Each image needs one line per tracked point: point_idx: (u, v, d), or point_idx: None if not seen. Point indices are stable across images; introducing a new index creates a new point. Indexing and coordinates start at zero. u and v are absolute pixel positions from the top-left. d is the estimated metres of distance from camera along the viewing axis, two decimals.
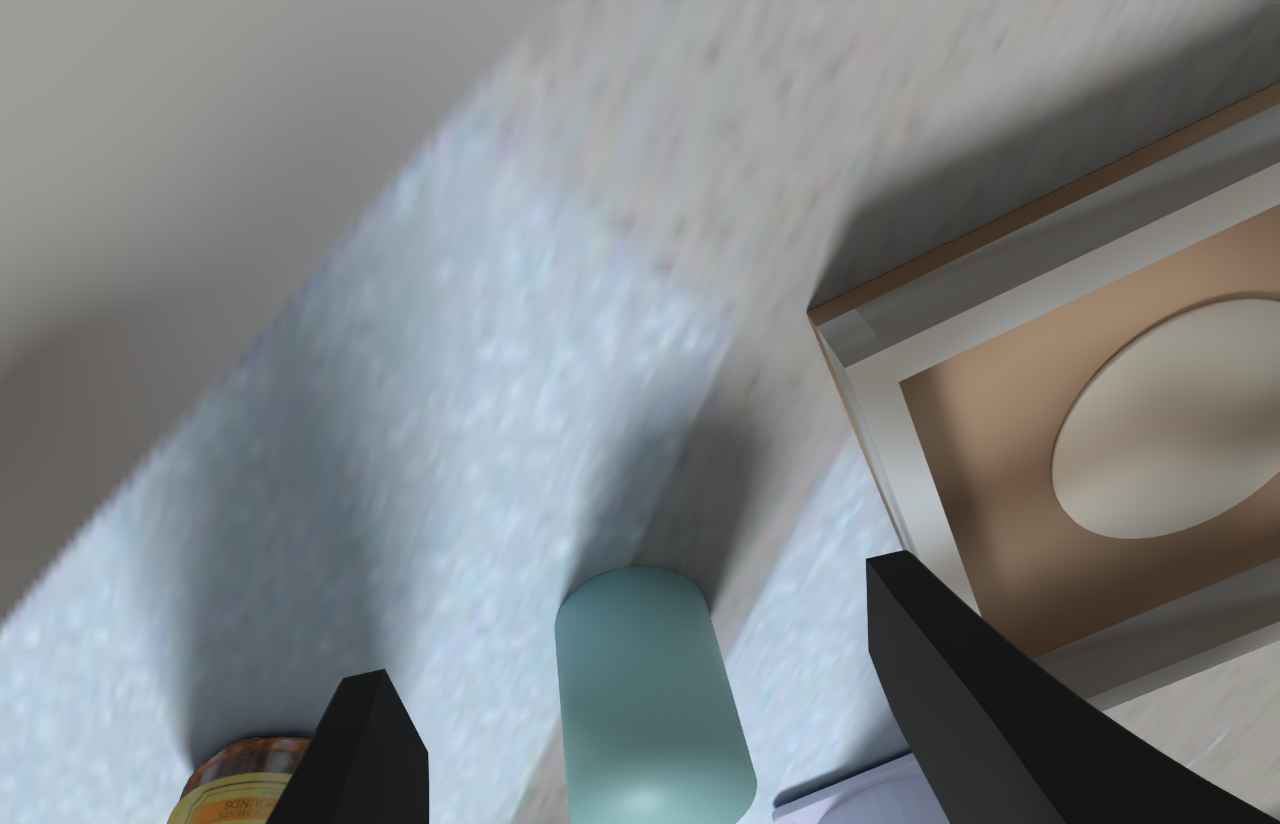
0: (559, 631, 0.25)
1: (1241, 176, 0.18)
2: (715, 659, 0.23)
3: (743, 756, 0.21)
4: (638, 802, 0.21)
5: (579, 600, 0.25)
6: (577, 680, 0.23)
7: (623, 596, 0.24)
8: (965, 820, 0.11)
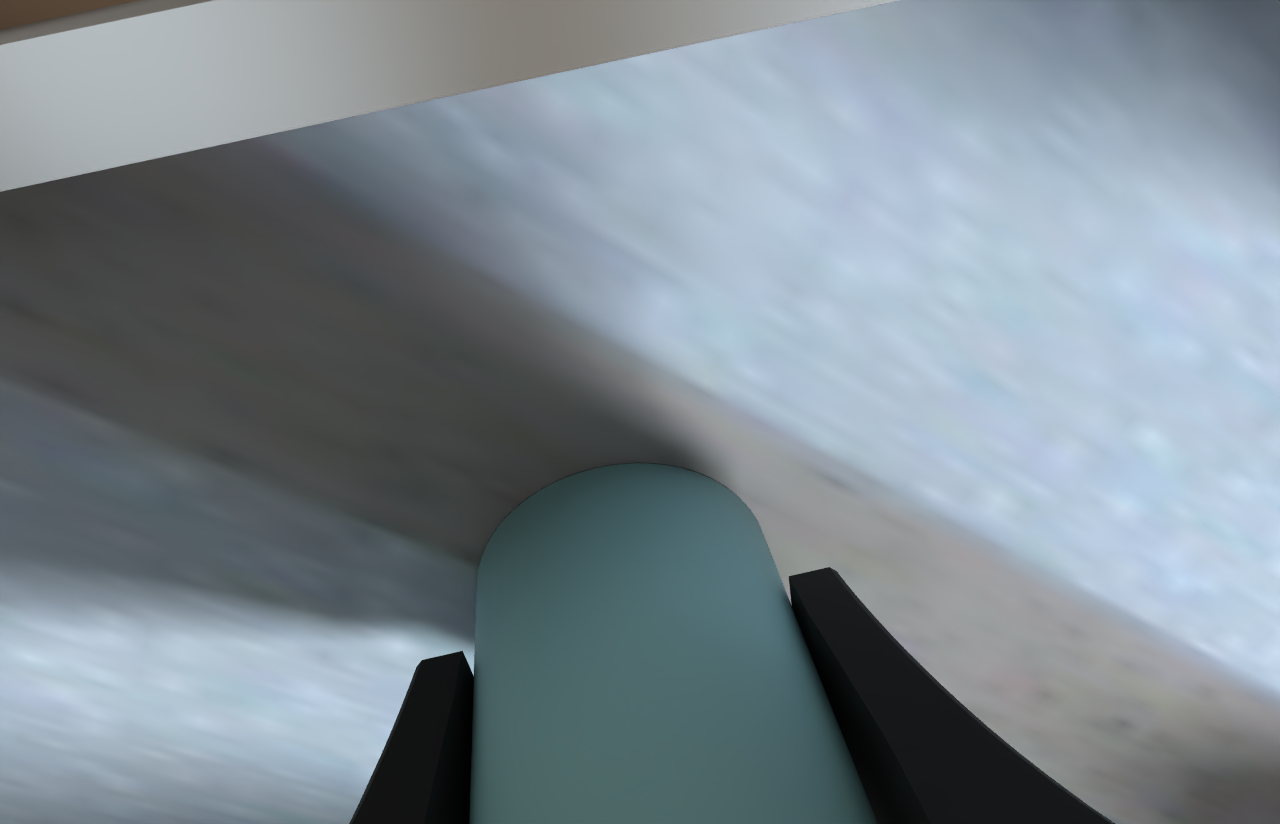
0: None
1: None
2: (583, 626, 0.10)
3: None
4: None
5: None
6: None
7: (476, 637, 0.13)
8: None
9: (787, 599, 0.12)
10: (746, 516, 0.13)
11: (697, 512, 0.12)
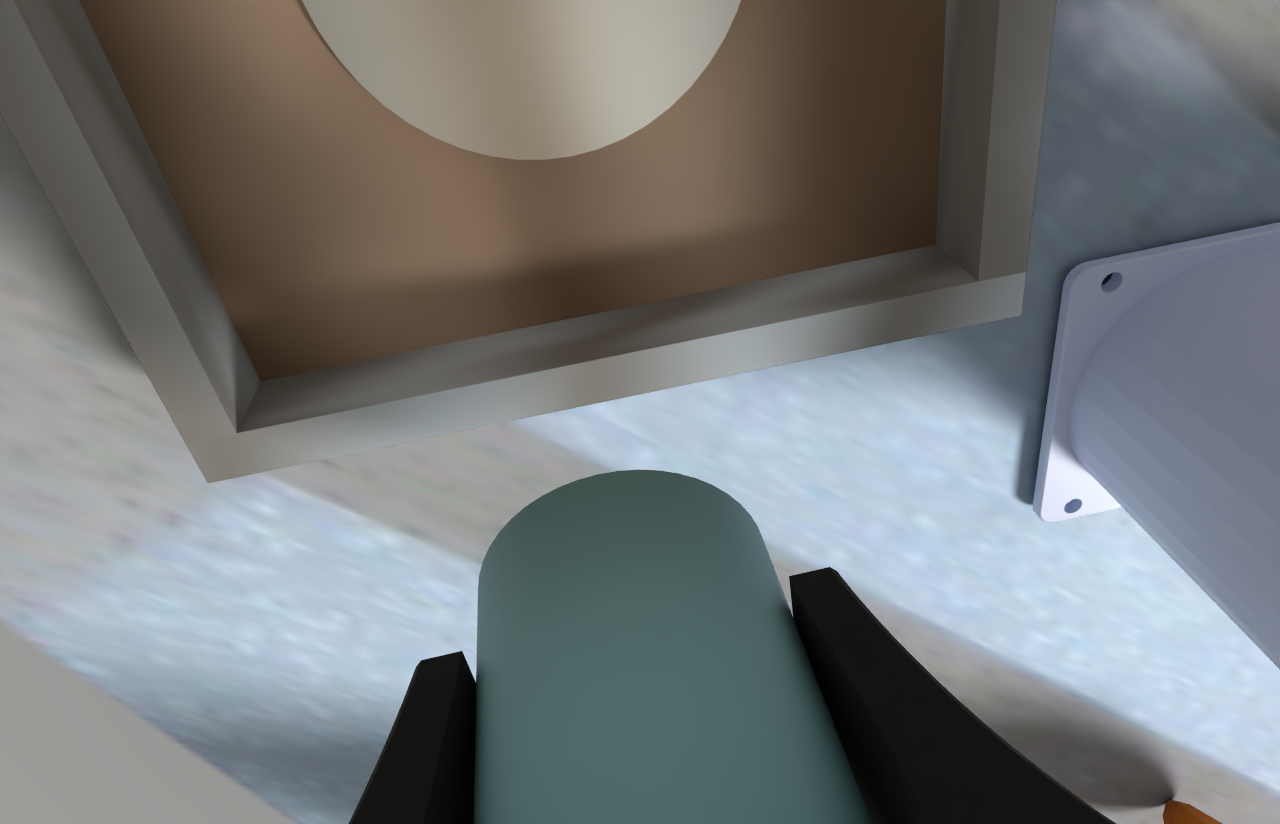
0: None
1: None
2: (586, 636, 0.10)
3: None
4: None
5: None
6: None
7: (478, 641, 0.13)
8: None
9: (786, 606, 0.12)
10: (746, 522, 0.13)
11: (698, 519, 0.12)
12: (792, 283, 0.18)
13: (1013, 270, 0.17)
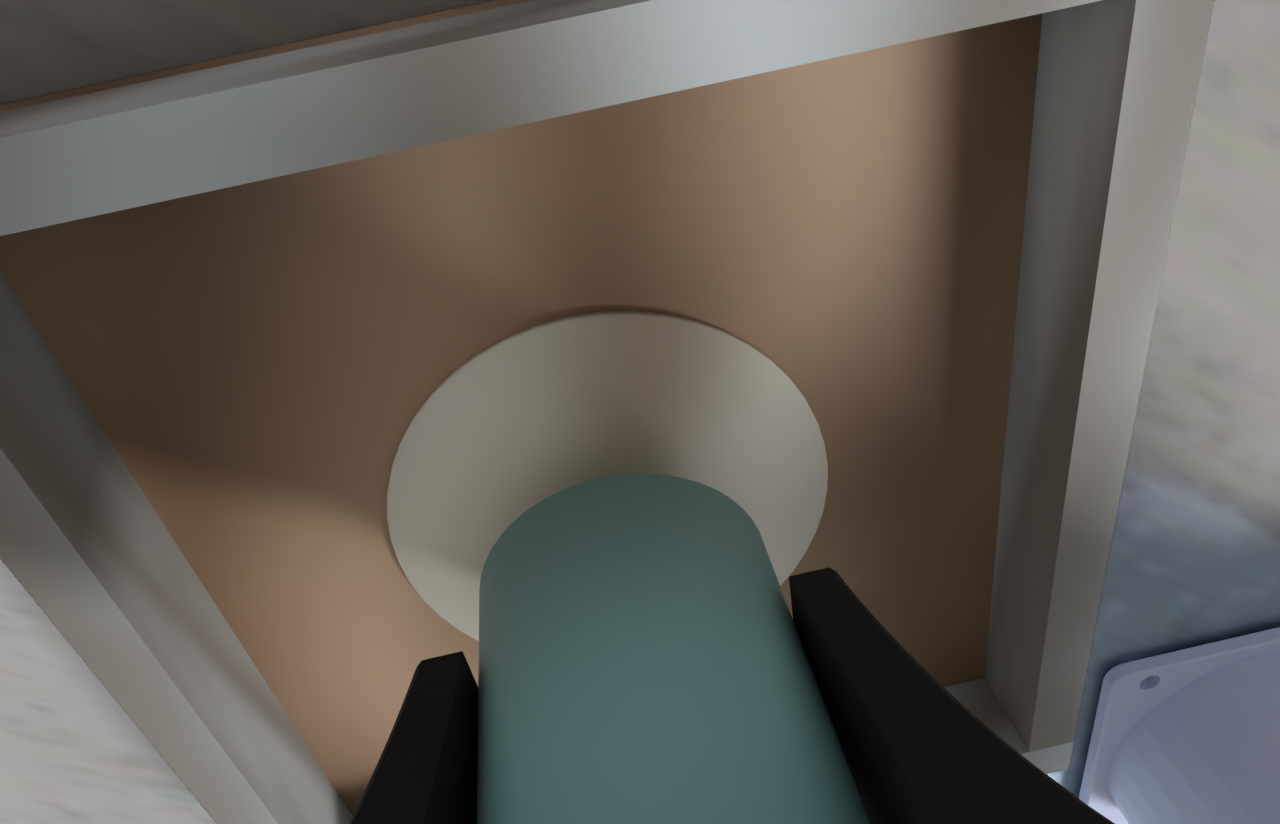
0: None
1: (101, 675, 0.14)
2: (590, 642, 0.10)
3: None
4: None
5: None
6: None
7: (479, 643, 0.13)
8: None
9: (788, 610, 0.12)
10: (748, 526, 0.13)
11: (701, 525, 0.12)
12: None
13: (1061, 741, 0.18)
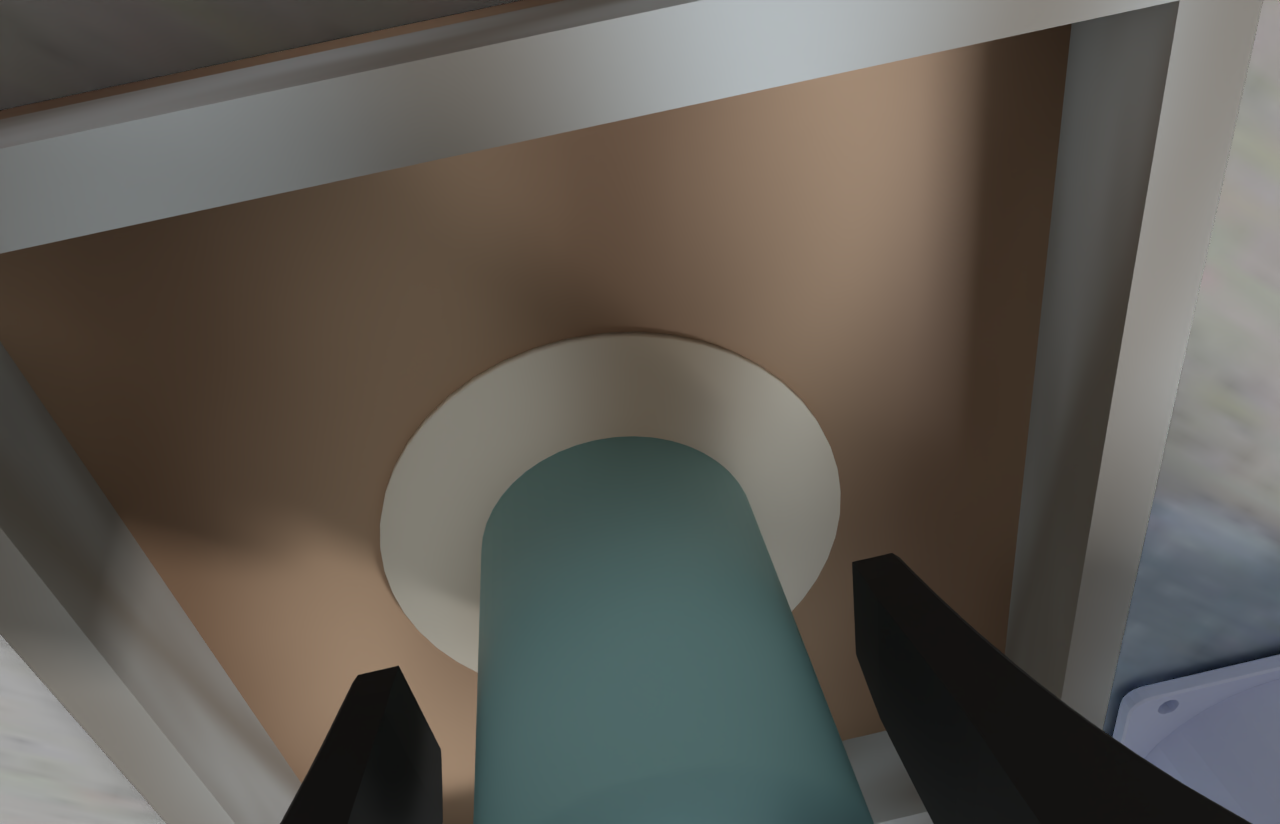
0: None
1: (78, 716, 0.13)
2: (581, 578, 0.11)
3: (612, 782, 0.09)
4: None
5: None
6: None
7: (480, 596, 0.13)
8: None
9: (771, 563, 0.13)
10: (734, 487, 0.14)
11: (689, 480, 0.13)
12: (862, 755, 0.19)
13: None
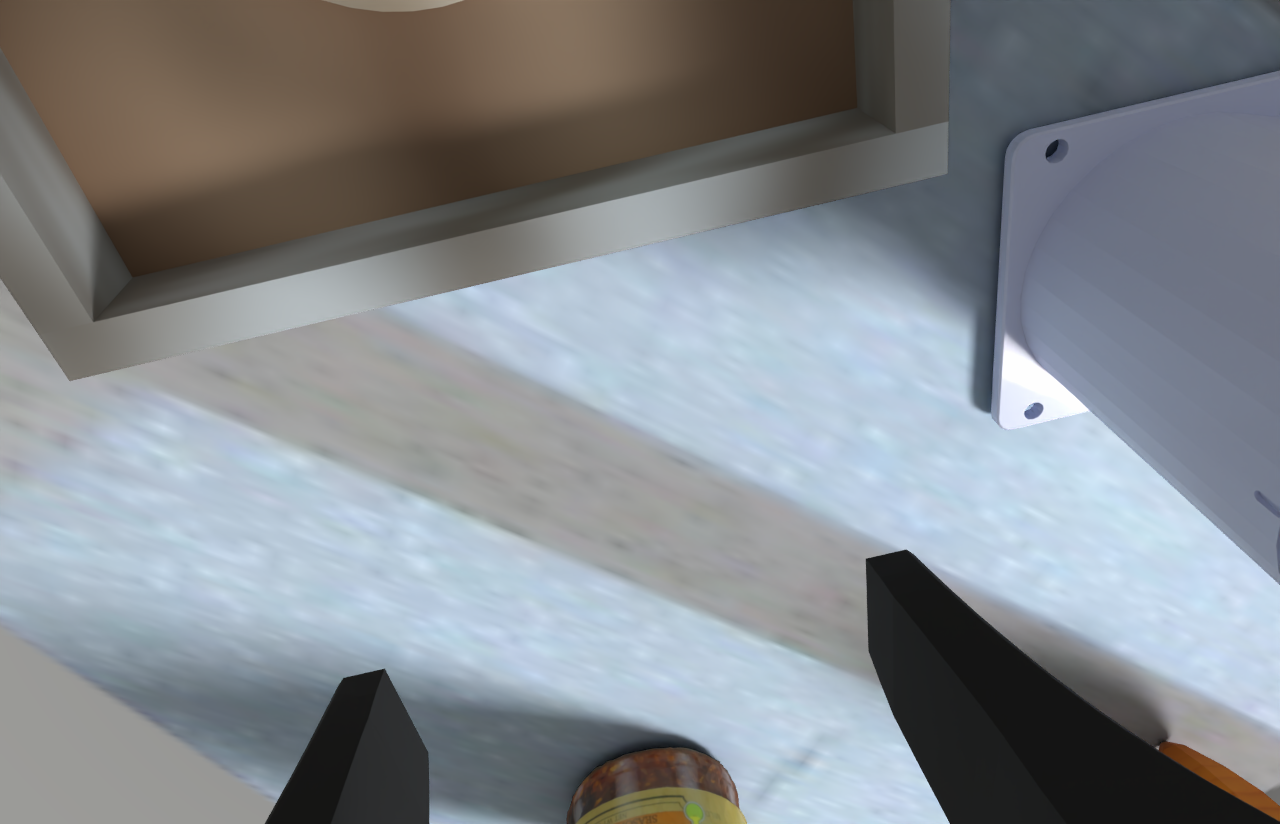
0: None
1: None
2: None
3: None
4: None
5: None
6: None
7: None
8: (965, 820, 0.11)
9: None
10: None
11: None
12: (699, 152, 0.17)
13: (933, 119, 0.15)
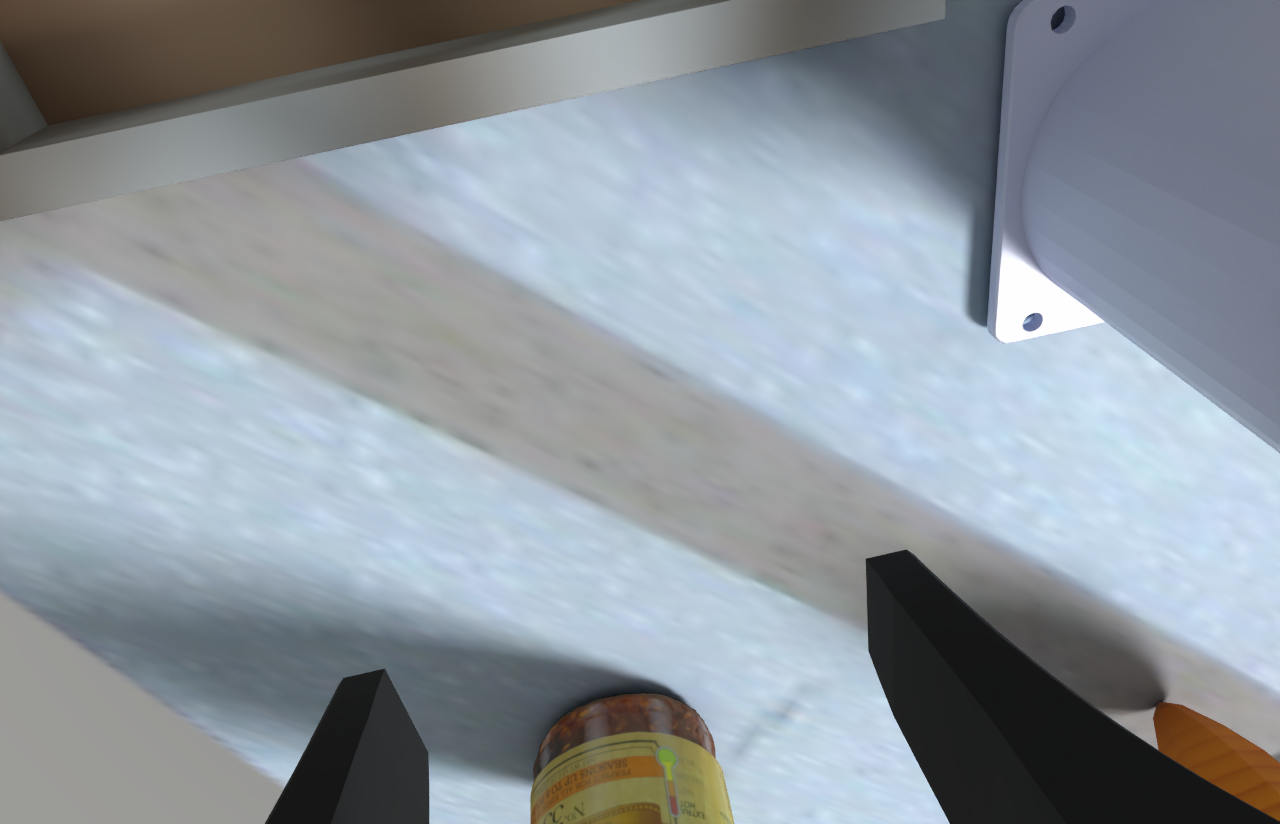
0: None
1: None
2: None
3: None
4: None
5: None
6: None
7: None
8: (965, 820, 0.11)
9: None
10: None
11: None
12: None
13: None
